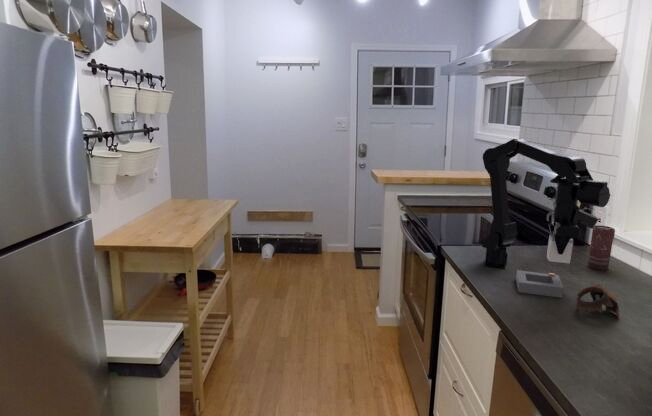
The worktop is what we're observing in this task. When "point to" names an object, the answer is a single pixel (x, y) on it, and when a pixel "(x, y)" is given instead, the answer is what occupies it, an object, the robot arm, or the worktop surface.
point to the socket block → (539, 283)
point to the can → (601, 247)
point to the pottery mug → (597, 300)
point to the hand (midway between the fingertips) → (558, 251)
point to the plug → (553, 253)
